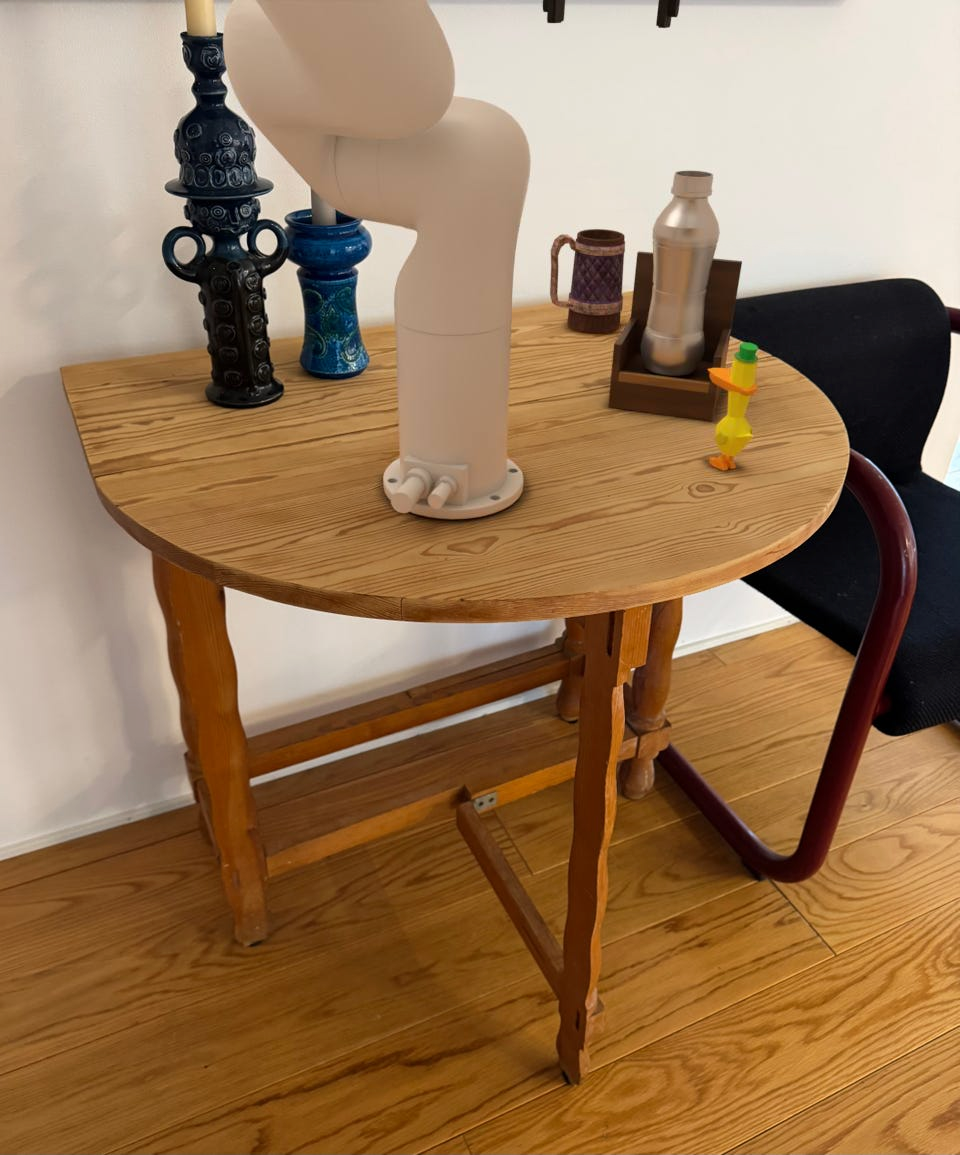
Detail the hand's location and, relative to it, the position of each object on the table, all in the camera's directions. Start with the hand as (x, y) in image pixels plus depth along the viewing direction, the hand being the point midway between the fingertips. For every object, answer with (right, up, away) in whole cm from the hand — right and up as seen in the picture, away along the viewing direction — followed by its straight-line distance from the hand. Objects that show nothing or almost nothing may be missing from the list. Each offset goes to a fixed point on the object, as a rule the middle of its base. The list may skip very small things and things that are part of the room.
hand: (608, 25), depth 83 cm
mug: (+2, -16, +41) cm, 44 cm away
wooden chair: (+9, -28, +22) cm, 37 cm away
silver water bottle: (+9, -26, +20) cm, 34 cm away
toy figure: (+12, -38, +8) cm, 40 cm away
